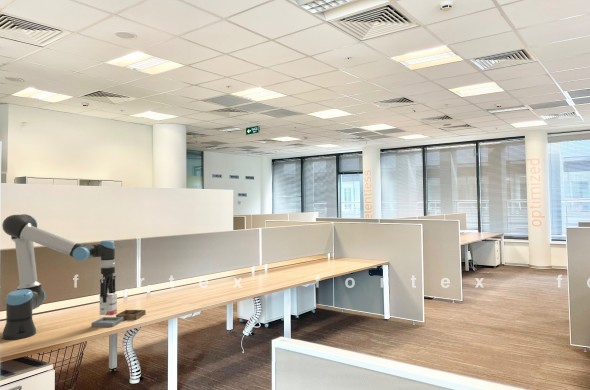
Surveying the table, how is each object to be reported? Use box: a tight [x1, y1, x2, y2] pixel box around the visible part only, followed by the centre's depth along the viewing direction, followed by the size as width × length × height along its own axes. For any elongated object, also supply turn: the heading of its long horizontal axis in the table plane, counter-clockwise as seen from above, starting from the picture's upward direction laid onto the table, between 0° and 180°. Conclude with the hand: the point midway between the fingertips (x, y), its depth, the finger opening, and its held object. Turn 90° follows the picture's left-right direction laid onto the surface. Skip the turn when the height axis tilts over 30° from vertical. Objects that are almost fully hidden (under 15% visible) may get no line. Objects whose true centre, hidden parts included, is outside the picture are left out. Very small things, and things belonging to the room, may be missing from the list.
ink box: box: [99, 292, 118, 316], centre depth 246 cm, size 9×5×12 cm, turn 75°
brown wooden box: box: [115, 309, 146, 321], centre depth 260 cm, size 13×13×3 cm
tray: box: [91, 316, 125, 328], centre depth 246 cm, size 13×13×2 cm
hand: (108, 306), depth 246 cm, fingers closed on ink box, 5 cm apart
